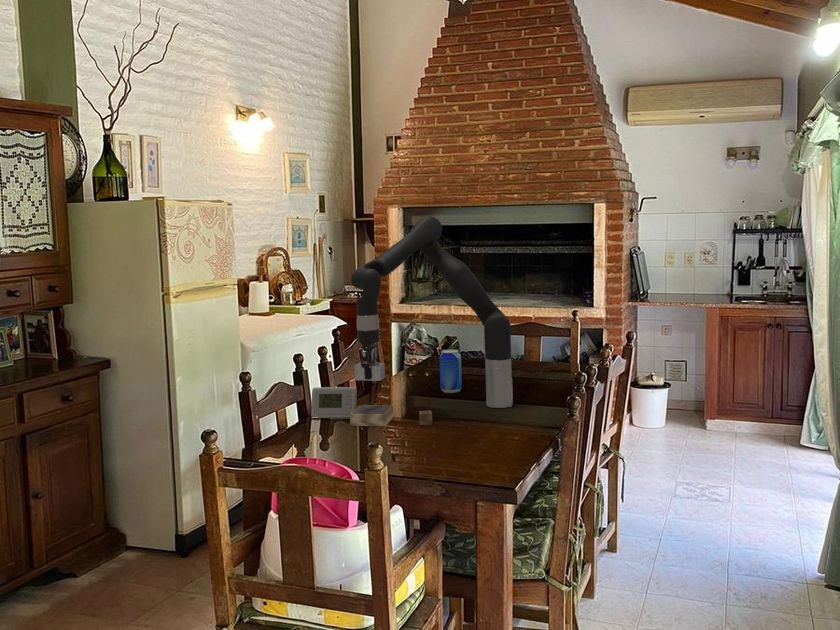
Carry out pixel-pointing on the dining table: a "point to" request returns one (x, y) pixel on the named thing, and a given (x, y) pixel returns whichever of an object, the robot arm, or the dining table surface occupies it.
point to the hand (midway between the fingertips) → (370, 377)
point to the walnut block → (425, 417)
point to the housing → (376, 371)
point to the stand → (371, 415)
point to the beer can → (450, 371)
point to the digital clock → (333, 402)
